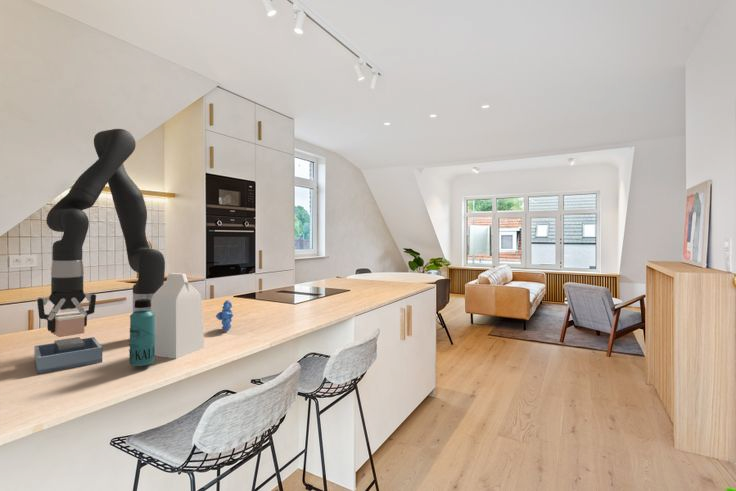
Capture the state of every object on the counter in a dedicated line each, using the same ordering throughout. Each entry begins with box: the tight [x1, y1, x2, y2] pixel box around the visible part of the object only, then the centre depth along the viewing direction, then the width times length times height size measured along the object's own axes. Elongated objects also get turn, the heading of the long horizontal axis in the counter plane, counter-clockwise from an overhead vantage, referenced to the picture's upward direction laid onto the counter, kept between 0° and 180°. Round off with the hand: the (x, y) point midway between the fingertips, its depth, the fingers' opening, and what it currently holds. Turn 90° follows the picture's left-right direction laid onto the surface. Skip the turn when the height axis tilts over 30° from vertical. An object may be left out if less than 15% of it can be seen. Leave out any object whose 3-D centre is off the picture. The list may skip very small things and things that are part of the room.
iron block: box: [53, 336, 84, 355], centre depth 112 cm, size 6×8×5 cm
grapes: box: [215, 300, 234, 332], centre depth 150 cm, size 12×7×12 cm, turn 15°
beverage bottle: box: [128, 299, 156, 367], centre depth 107 cm, size 6×7×20 cm
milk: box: [151, 272, 205, 360], centre depth 122 cm, size 12×12×26 cm
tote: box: [33, 336, 103, 375], centre depth 112 cm, size 15×15×4 cm
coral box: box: [52, 311, 85, 338], centre depth 111 cm, size 6×8×6 cm
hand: (67, 330), depth 111 cm, fingers closed on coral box, 6 cm apart
